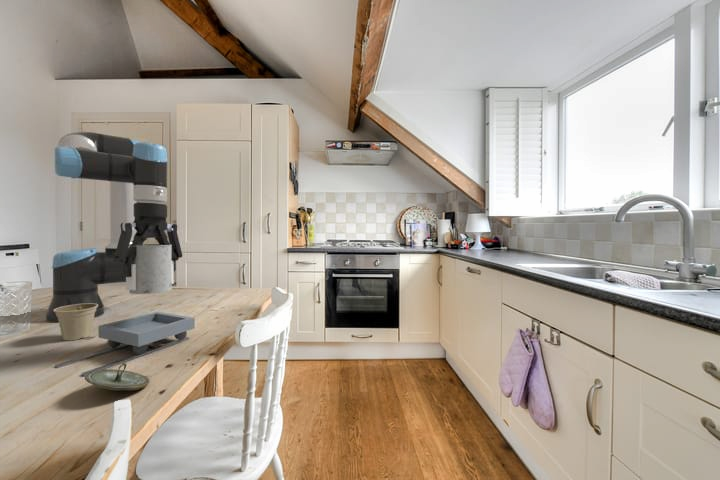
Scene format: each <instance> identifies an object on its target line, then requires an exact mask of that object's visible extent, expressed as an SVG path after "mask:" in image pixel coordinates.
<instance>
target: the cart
mask: <svg viewBox="0 0 720 480" xmlns="http://www.w3.org/2000/svg"><path fill="white" fill-rule="evenodd" d="M195 318H196V317H190V316H185V315H179V314H175V313H167V312H161V311H155V312H151V313H145V314H142V315H138V316H133V317H130V318H126V319H121V320H117V321H113V322H108V323H104V324H100V325H98V338H99V339H104V340H107V346H108V347H109V348H112V347H113V348H116V347H118V346H120V345H122V344H128V346H133V347H132V352H133V353H134V354H143V353H144V352H145V351H147V350H148V348H149V346H148V345H147V344H149V343H152V342H158V341H160V340H163V339H167V338H169V337H173V336H174V338H175V339H176V340H182V339H184V338H185V337H187V335H188V333H187V331H191V330H194V329H196V328H195V327H196V326H195Z"/></svg>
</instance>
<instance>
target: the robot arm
mask: <svg viewBox="0 0 720 480" xmlns="http://www.w3.org/2000/svg"><path fill="white" fill-rule="evenodd" d="M167 152H168V151H167V149H166V148H165V147H164V146H163V145H160V144H157V143H151V142H142V141H140V140H136V139H132V138H127V137H121V136H115V135H108V134H104V133H98V132H92V131H91V132H90V131H81V132H79V131H78V132H72V133H68V134H66V135H64V136H62V137H61V138H60V139H59V141H58V144H57V146H56V147H55V148H54V173H55V174H56V175H57V176H59V177H63V178H64V177H65V178H69V179H74V180H75V179H83V180H92V181H103V182H105V181H107V182H109V210H110V211H109V214H110V215H109V219H110V223H109V225H110V229H109V231H110V232H109V235H110V240H109V243H108V244H107V245H105V247H104V250H105V251H103V252H102V251H99V250H98V249H97V248H83V249H81V248H80V249H74V250H67V251H61V252H57V253H55V254H54V256H53V257H52V265H51V269H52V298H51V301H50V302H49V305H48V307H47V310H46V313H45V321H47V322H51V323H59V321H58V317H57V316H56V313H55V312H54V311H53V310H54V309H56V308H59V307H63V306H68V305H74V304H85V303H94V304H98V307H96V311H95V314H94V318H95V317H99V316H102V315H103V314H105V305H104V303H103V301H102V299H101V296H100V294H99V285H107V284H109V285H110V284H119V283H125V290H129V291H130V290H136V264H132V263H133V261H134V259H135V257H136V255H137V247H136V246H142V244H144V242H145V241H147V239H149V238H150V239H151V238H154V239H155V241H157V242H158V243H157V244H159V245H170V244H171V245H172V246H171V272H172V285H173V284H174V283H175V282H174V279H175V277H174V274H175V273H174V272H176V265H177V264H176V262H177V261H178V260H179V258H180V259H182V258H183V252H182V248H181V244H180V240H179V236H178V235H179V234H178V224H176V223H168V222H167V217H168V205H167V204H165V203H167V202H168V155H167V154H168V153H167ZM165 231H166V232H167V233H166V232H165ZM129 245H133V246H135V247H132V246H130V247H129Z"/></svg>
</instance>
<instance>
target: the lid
mask: <svg viewBox="0 0 720 480" xmlns="http://www.w3.org/2000/svg"><path fill="white" fill-rule="evenodd" d="M122 367H123V370H121V368H122ZM126 367H127V363H126V362H123V363H121V364H119V367H118V369H109V368H106V369H103V370H98V371H93V372H90V373H89V374H87V375H86V376H84V380H85V381H86V382H87V383H89V384H91V385H93V386H95V387H97V388H101V389H104V390H105V389H106V390H110V391H111V390H112V391H137V390H141V389H145V388H146V387H147V386H148V384H149V383H150V379H149V378H148V377H147V376H145V375H144V374H140V373H137V372H134V371H130V370H129V371H128V370H126V369H127V368H126Z"/></svg>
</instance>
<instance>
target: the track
mask: <svg viewBox="0 0 720 480" xmlns="http://www.w3.org/2000/svg"><path fill="white" fill-rule="evenodd" d="M187 340H190V338H189V337H188V336H186V337H185V338H184V339H182V340H179V339H176V340H173V341H170V342H168V343H161V342H157V341H155V342H152V343H149V344H147V345H148V347H153V348H151V349H147V350H146V351H145V352H144V353H143V354H137V353H135V354H132V355H129V356H126V357H125V358H121V359H119V360H115V361H113V362H110V363H107V364H105V365H102V366H99V367H95V368H93V369H90V370H89V369H88V370H87V371H83V372H81V373H80V375H81V376H82V377H85V376H86V375H87V374H89V373H90V372H93V371H98V370H103V369H109V368H112V367H115V366H118V365H121V364H123V363H126V362H128V361H131V360H134V359H137V358H140V357H142V356H145V355H148V354H151V353H153V352H156V351H159V350H162V349H165V348H168V347H171V346H173V345H177V344H179V343H181V342H184V341H187ZM128 346H129V345H128V344H124V343H121V344H120V346H118V347H116V348H113V347H109V348H106V349H103V350H99V351H96V352H93V353H89V354H86V355H83V356H80V357H77V358H73V359H70V360H67V361H62V362H61V363H58V364H54V368H61V367H65V366H67V365H71V364H74V363H77V362H80V361H83V360H86V359H87V360H88V359H89V358H93V357H96V356H99V355H102V354H105V353H106V354H107V353H108V352H109V353H110V352H112V351H115V350H119V349H121V348H125V347H128Z"/></svg>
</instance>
